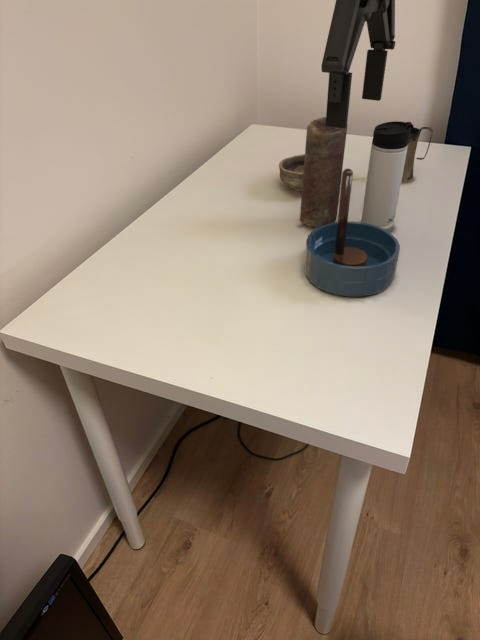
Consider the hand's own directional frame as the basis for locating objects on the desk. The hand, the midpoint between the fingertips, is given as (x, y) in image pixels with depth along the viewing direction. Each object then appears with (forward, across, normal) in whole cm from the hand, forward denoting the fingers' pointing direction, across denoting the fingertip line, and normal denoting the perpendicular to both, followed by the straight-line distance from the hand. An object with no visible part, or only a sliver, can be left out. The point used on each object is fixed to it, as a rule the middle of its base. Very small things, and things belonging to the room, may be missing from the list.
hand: (354, 112), depth 68 cm
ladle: (+26, 0, +2) cm, 26 cm away
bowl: (+27, -30, -19) cm, 45 cm away
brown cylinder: (+27, -14, -10) cm, 32 cm away
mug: (+27, -43, -1) cm, 51 cm away
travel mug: (+27, -18, +1) cm, 32 cm away
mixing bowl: (+27, 0, +2) cm, 27 cm away
